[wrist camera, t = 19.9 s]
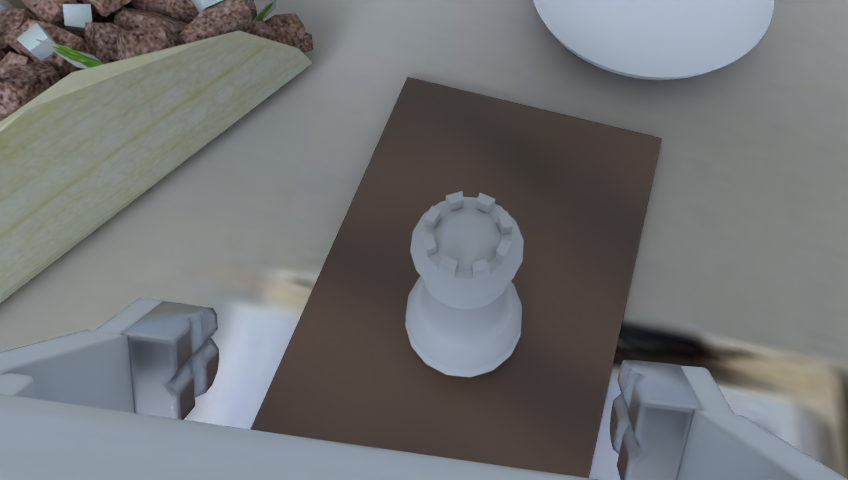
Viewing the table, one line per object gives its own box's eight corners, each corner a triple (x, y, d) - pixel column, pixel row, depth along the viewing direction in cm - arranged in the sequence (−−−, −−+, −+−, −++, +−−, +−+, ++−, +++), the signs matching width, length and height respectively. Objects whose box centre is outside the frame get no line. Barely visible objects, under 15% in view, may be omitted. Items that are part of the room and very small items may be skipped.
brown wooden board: (535, 711, 19) (537, 714, 19) (192, 567, 21) (188, 568, 21) (659, 143, 28) (662, 137, 28) (407, 82, 30) (407, 76, 30)
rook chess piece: (511, 265, 25) (534, 154, 18) (529, 374, 23) (563, 298, 16) (402, 276, 25) (381, 169, 18) (410, 386, 23) (391, 315, 16)
